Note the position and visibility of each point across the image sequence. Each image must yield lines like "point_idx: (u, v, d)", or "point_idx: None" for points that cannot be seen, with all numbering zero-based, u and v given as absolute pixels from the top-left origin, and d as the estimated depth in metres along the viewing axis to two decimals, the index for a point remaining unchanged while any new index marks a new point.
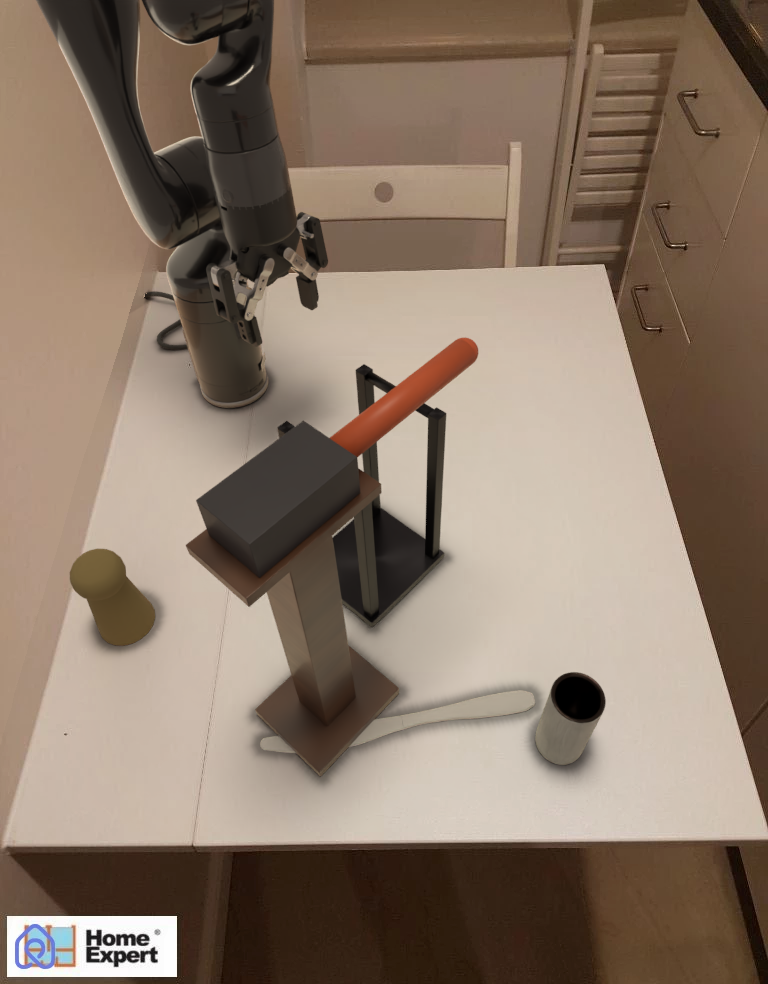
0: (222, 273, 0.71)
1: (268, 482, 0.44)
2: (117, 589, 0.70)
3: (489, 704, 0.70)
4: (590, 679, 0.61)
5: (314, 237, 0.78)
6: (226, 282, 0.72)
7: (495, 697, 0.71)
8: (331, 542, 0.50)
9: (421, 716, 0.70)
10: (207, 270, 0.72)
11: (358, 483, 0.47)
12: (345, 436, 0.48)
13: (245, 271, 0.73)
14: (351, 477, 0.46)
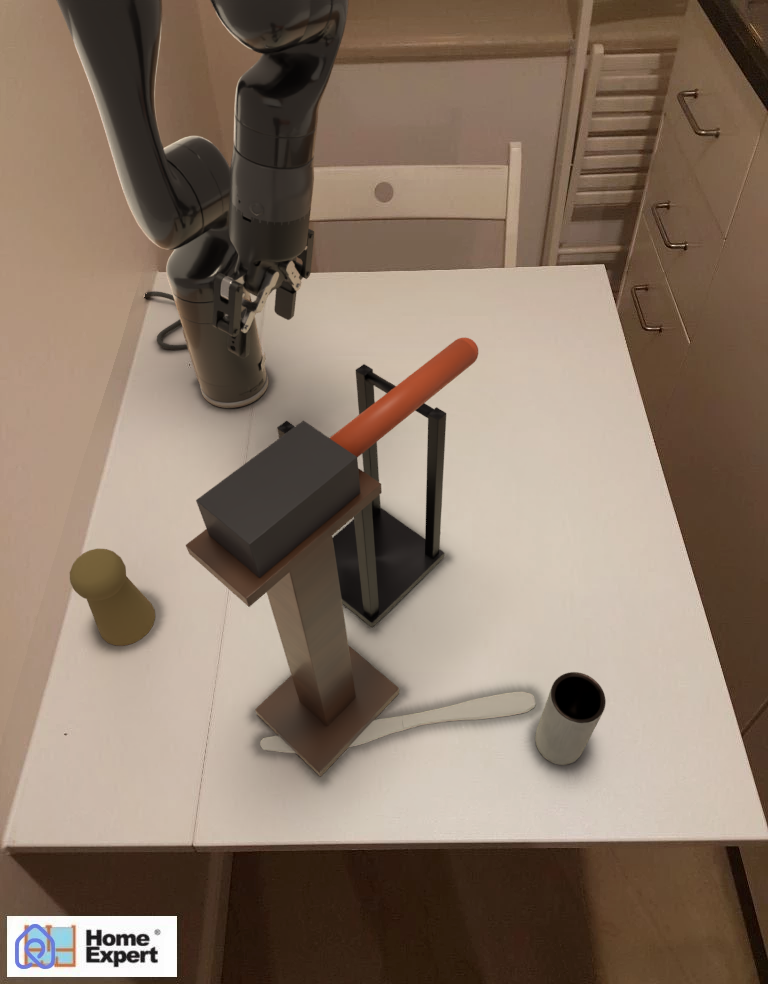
0: (237, 286, 0.67)
1: (268, 482, 0.44)
2: (117, 589, 0.70)
3: (489, 705, 0.70)
4: (590, 679, 0.61)
5: (306, 249, 0.76)
6: (238, 296, 0.68)
7: (495, 698, 0.71)
8: (331, 542, 0.50)
9: (421, 717, 0.70)
10: (216, 281, 0.67)
11: (358, 483, 0.47)
12: (345, 436, 0.48)
13: (253, 284, 0.70)
14: (351, 477, 0.46)
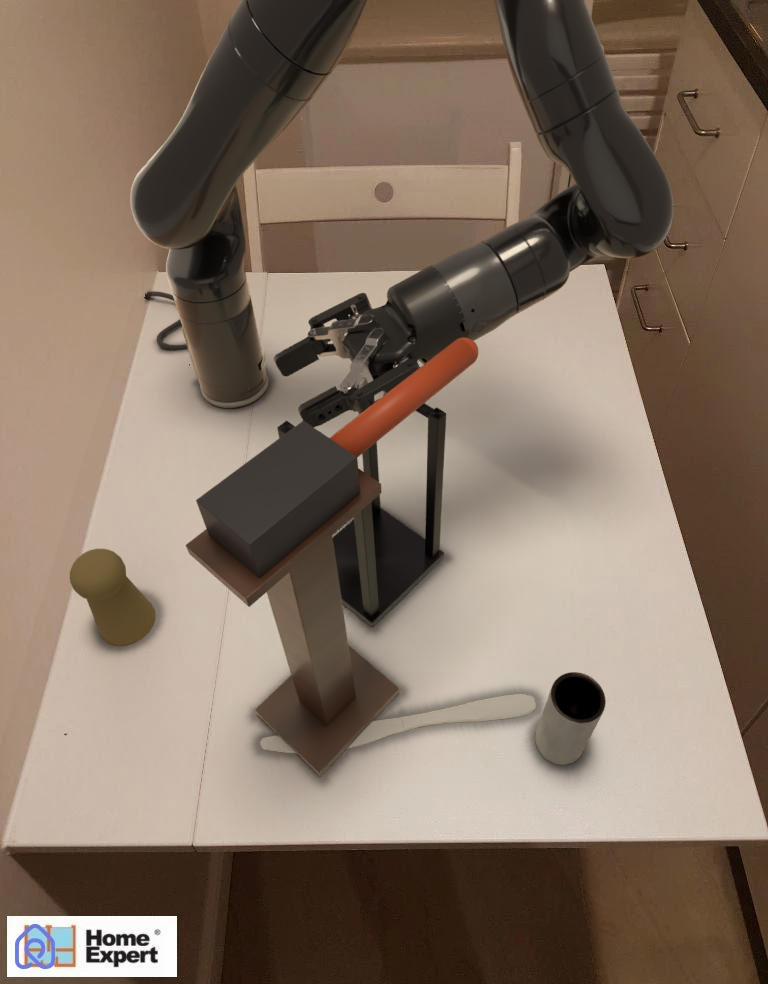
0: None
1: (268, 482, 0.44)
2: (117, 589, 0.70)
3: (490, 707, 0.70)
4: (590, 679, 0.61)
5: None
6: None
7: (496, 700, 0.71)
8: (331, 542, 0.50)
9: (421, 718, 0.70)
10: (415, 367, 0.58)
11: (358, 483, 0.47)
12: (345, 436, 0.48)
13: None
14: (351, 477, 0.46)
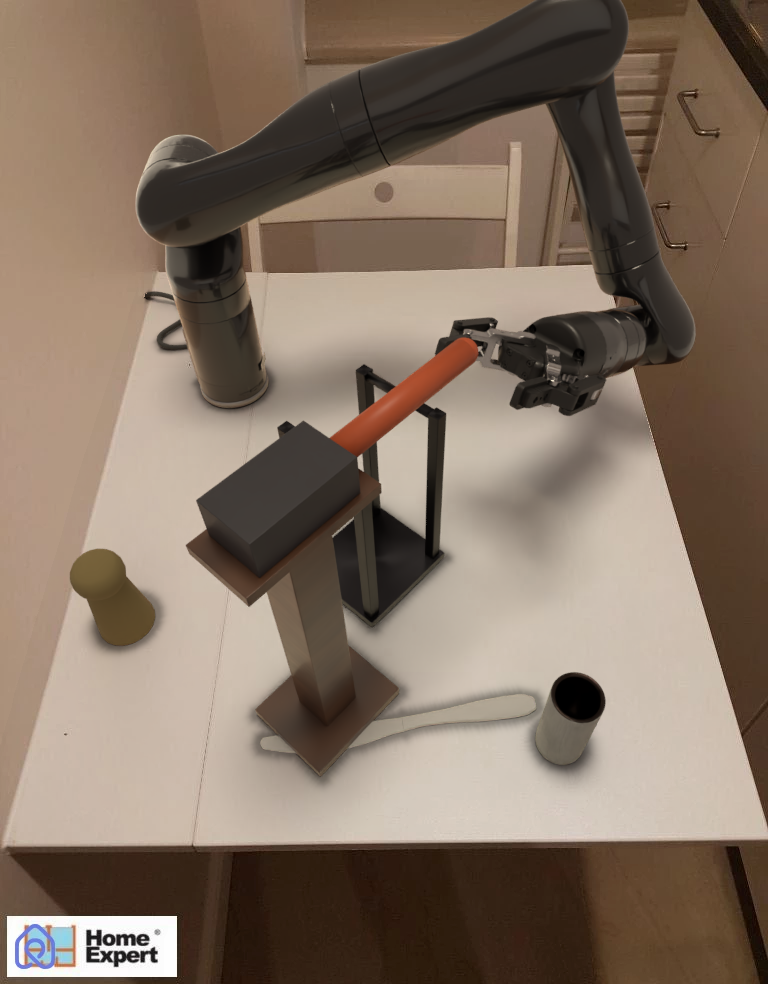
0: None
1: (268, 482, 0.44)
2: (117, 589, 0.70)
3: (490, 707, 0.70)
4: (590, 679, 0.61)
5: (480, 346, 0.70)
6: None
7: (496, 700, 0.70)
8: (331, 542, 0.50)
9: (421, 718, 0.70)
10: None
11: (358, 483, 0.47)
12: (345, 436, 0.48)
13: None
14: (351, 477, 0.46)
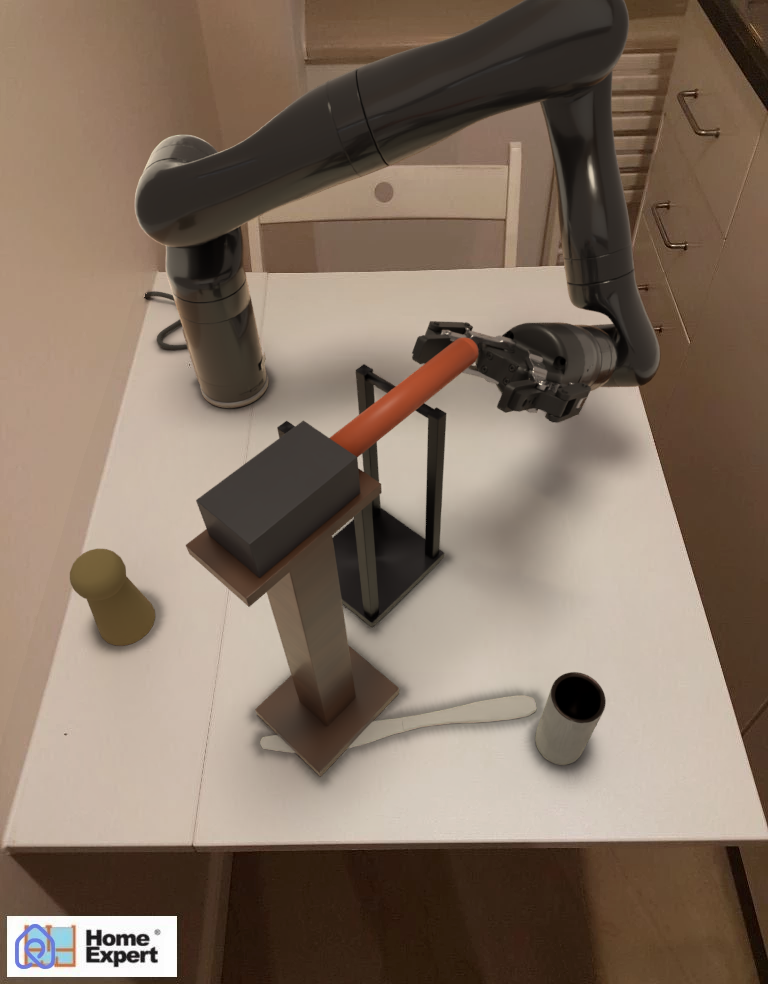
0: None
1: (268, 482, 0.44)
2: (117, 589, 0.70)
3: (490, 708, 0.70)
4: (590, 679, 0.61)
5: None
6: None
7: (496, 702, 0.70)
8: (331, 542, 0.50)
9: (422, 719, 0.70)
10: (590, 390, 0.60)
11: (358, 483, 0.47)
12: (345, 436, 0.48)
13: None
14: (351, 477, 0.46)
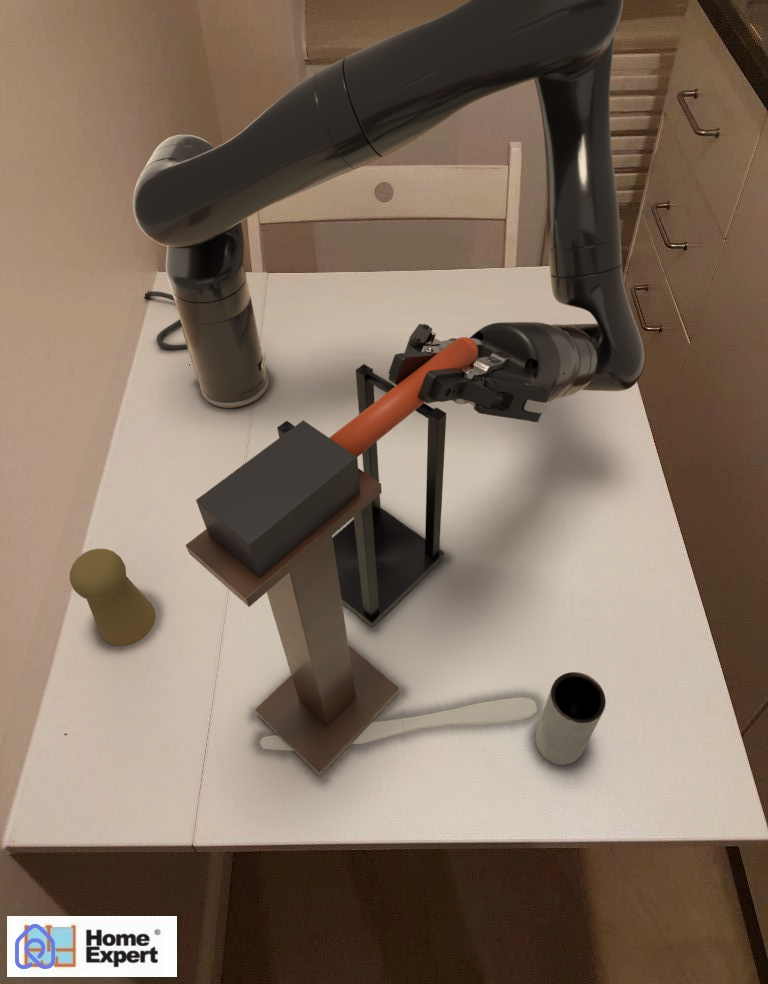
0: None
1: (268, 482, 0.44)
2: (117, 589, 0.70)
3: (490, 710, 0.70)
4: (590, 679, 0.61)
5: None
6: None
7: (497, 703, 0.70)
8: (331, 542, 0.50)
9: (422, 720, 0.70)
10: (548, 396, 0.54)
11: (358, 483, 0.47)
12: (345, 436, 0.48)
13: None
14: (351, 477, 0.46)
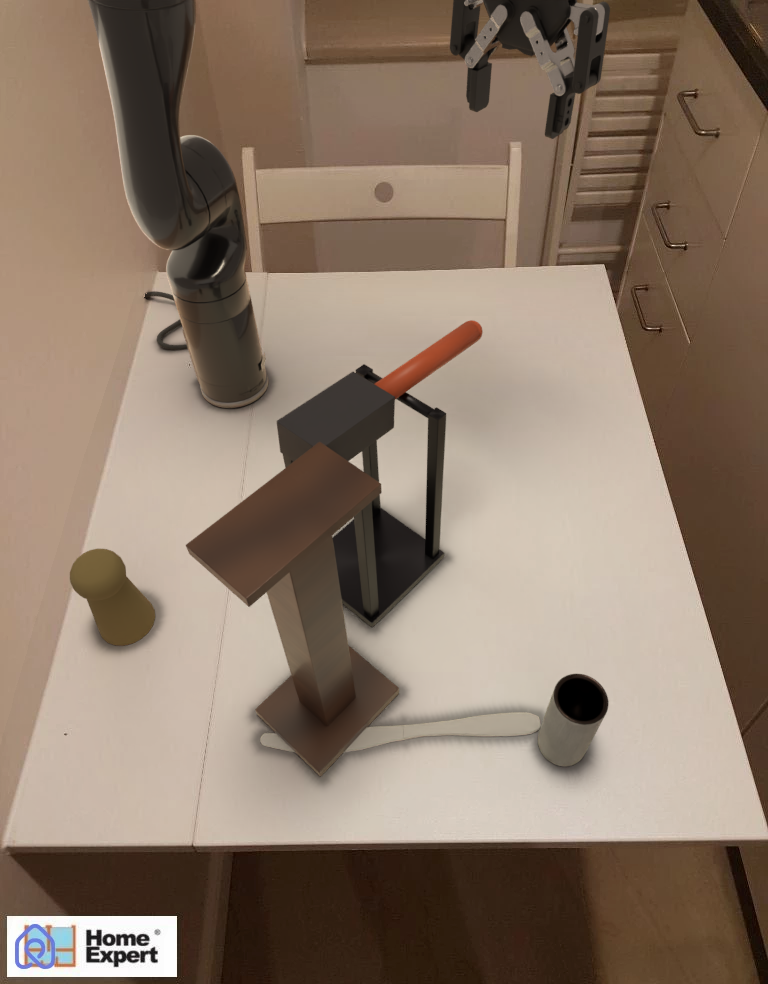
0: None
1: (329, 411, 0.60)
2: (117, 589, 0.70)
3: (493, 723, 0.69)
4: (593, 681, 0.61)
5: None
6: None
7: (500, 717, 0.69)
8: (331, 542, 0.50)
9: (423, 728, 0.69)
10: (594, 17, 0.55)
11: (393, 419, 0.63)
12: (384, 384, 0.63)
13: None
14: (389, 412, 0.62)
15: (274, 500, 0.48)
